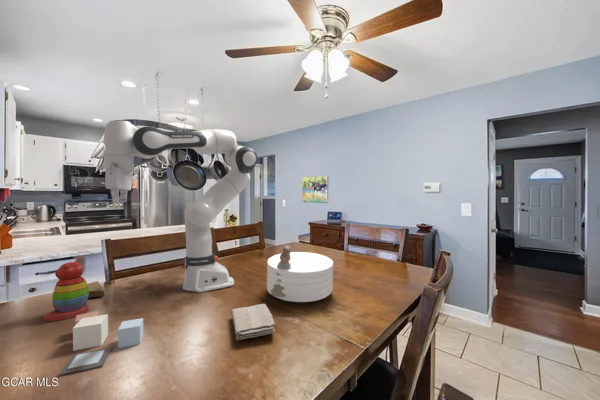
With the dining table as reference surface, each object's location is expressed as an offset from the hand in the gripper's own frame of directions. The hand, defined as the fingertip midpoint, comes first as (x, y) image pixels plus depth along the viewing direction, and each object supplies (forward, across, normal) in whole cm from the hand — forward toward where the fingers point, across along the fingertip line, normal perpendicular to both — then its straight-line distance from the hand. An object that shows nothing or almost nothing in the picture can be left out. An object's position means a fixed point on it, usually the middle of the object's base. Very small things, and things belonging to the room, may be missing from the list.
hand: (119, 202), depth 94 cm
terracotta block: (+38, -18, +4) cm, 43 cm away
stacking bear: (+38, -1, +14) cm, 41 cm away
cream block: (+38, -25, +1) cm, 46 cm away
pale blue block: (+38, -29, -9) cm, 49 cm away
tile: (+38, -35, -1) cm, 52 cm away
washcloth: (+39, -32, -42) cm, 66 cm away
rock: (+40, +13, +10) cm, 43 cm away
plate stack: (+37, -10, -67) cm, 78 cm away
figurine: (+37, -16, -58) cm, 70 cm away
